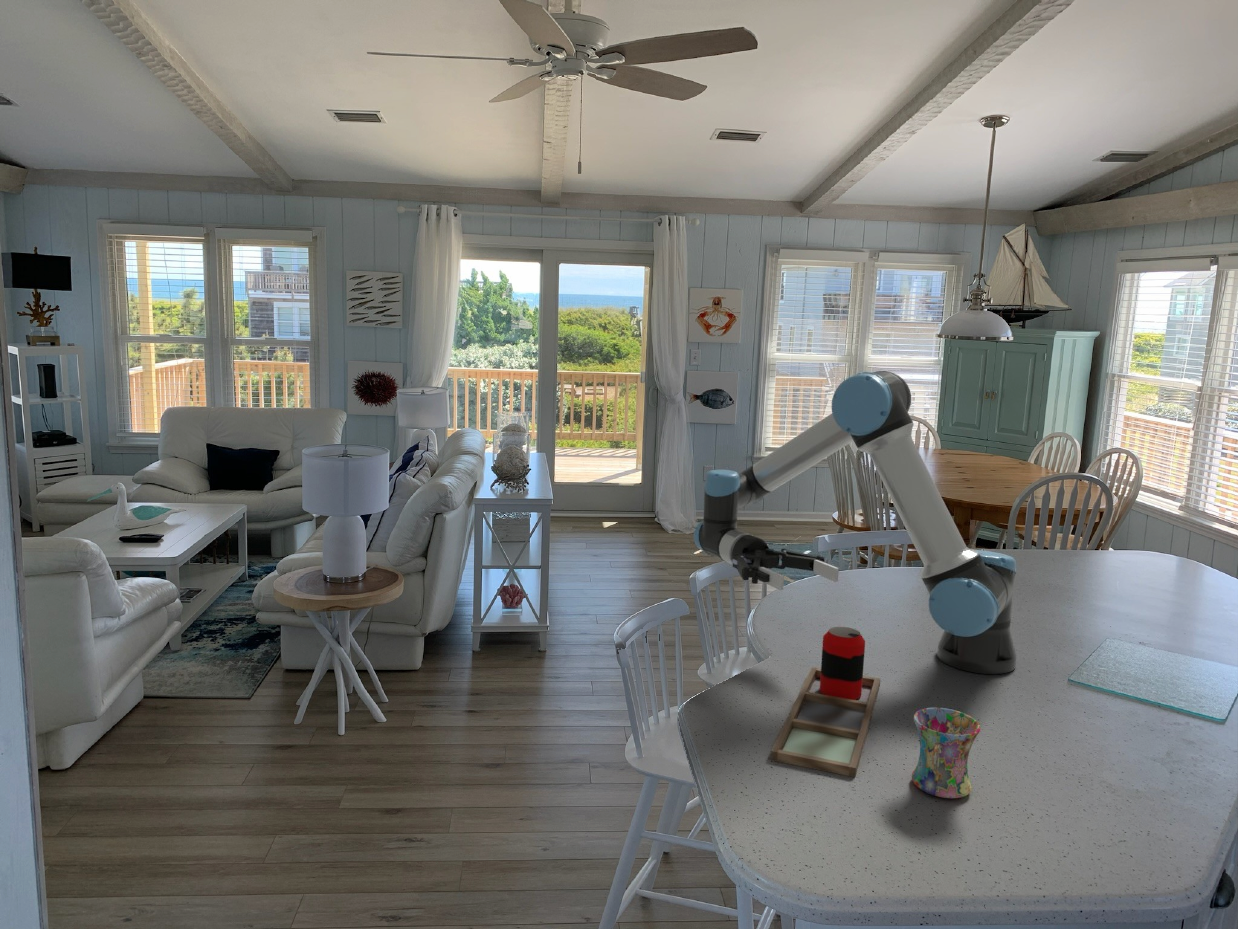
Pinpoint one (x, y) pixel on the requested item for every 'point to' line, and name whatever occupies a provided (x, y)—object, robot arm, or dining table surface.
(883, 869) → the dining table surface
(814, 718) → the frame
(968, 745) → the mug
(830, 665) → the soda can
